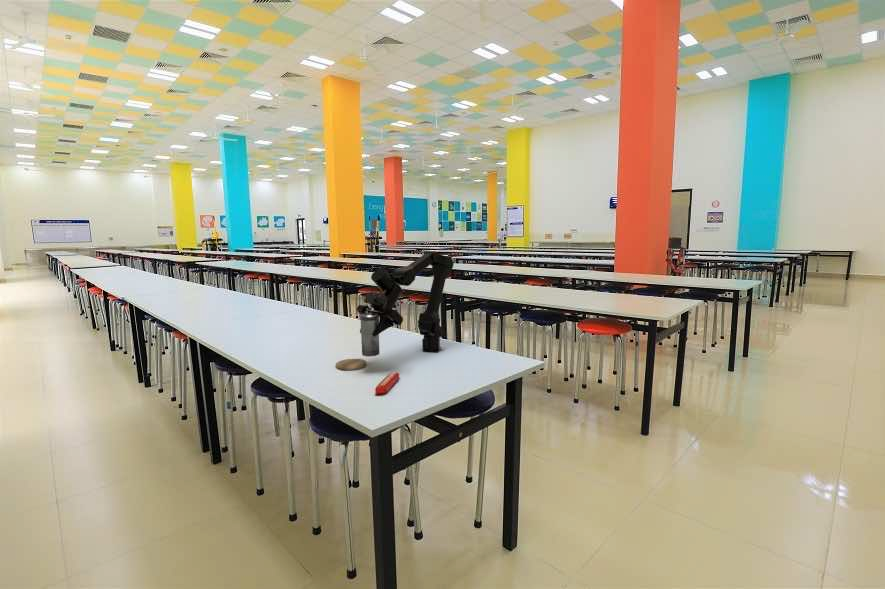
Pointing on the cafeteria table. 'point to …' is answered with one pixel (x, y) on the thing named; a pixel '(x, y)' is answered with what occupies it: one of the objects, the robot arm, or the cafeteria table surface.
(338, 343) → the cafeteria table surface
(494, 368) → the cafeteria table surface
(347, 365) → the coaster
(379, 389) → the red rounded bar
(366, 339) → the tumbler
